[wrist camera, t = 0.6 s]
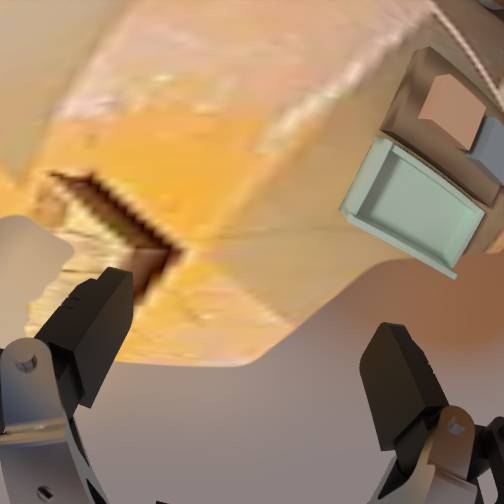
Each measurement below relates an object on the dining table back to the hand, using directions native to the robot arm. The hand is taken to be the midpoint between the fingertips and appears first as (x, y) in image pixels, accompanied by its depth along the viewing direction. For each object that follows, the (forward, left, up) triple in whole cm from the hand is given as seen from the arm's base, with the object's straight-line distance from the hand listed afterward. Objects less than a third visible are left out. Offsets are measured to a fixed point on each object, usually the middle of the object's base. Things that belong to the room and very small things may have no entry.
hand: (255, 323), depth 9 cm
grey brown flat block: (-17, +20, -27) cm, 37 cm away
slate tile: (-17, +24, -23) cm, 37 cm away
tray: (-5, +20, -27) cm, 34 cm away
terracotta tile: (-17, +16, -23) cm, 33 cm away
